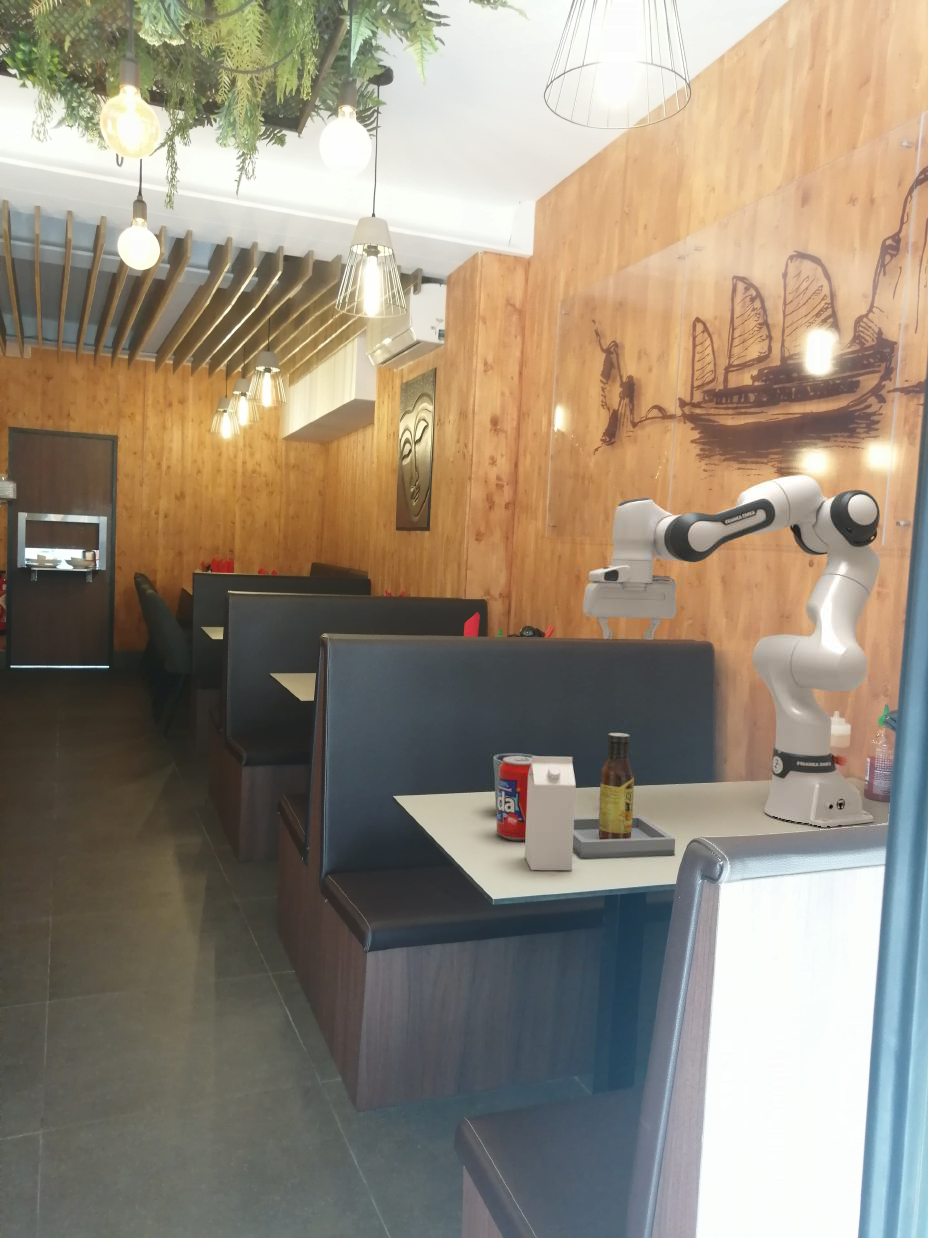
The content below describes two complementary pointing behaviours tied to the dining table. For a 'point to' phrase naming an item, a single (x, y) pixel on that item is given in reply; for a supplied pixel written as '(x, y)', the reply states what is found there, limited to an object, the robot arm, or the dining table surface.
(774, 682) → the robot arm
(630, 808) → the sauce bottle
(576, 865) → the dining table surface
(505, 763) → the soda can
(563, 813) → the milk carton
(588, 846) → the tray
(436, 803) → the dining table surface
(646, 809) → the dining table surface
